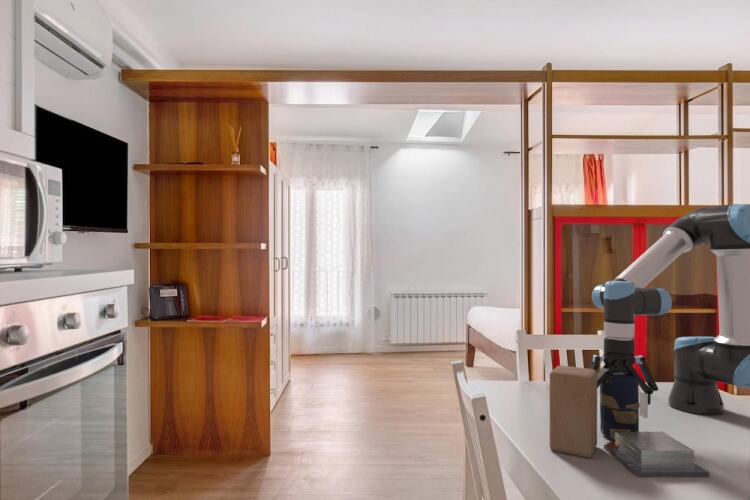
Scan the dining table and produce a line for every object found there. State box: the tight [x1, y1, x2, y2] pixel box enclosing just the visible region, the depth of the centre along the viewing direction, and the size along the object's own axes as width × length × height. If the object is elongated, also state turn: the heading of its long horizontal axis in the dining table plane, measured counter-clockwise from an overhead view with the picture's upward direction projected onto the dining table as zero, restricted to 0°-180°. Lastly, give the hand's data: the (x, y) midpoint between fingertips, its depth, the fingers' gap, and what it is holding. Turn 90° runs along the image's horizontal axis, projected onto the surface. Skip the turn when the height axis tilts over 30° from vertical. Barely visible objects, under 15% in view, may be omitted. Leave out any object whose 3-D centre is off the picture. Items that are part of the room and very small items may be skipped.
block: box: [549, 364, 598, 459], centre depth 125 cm, size 10×10×20 cm
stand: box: [603, 431, 710, 478], centre depth 118 cm, size 16×17×5 cm
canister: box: [599, 372, 640, 440], centre depth 134 cm, size 10×10×18 cm
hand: (618, 416), depth 134 cm, fingers open, 13 cm apart
